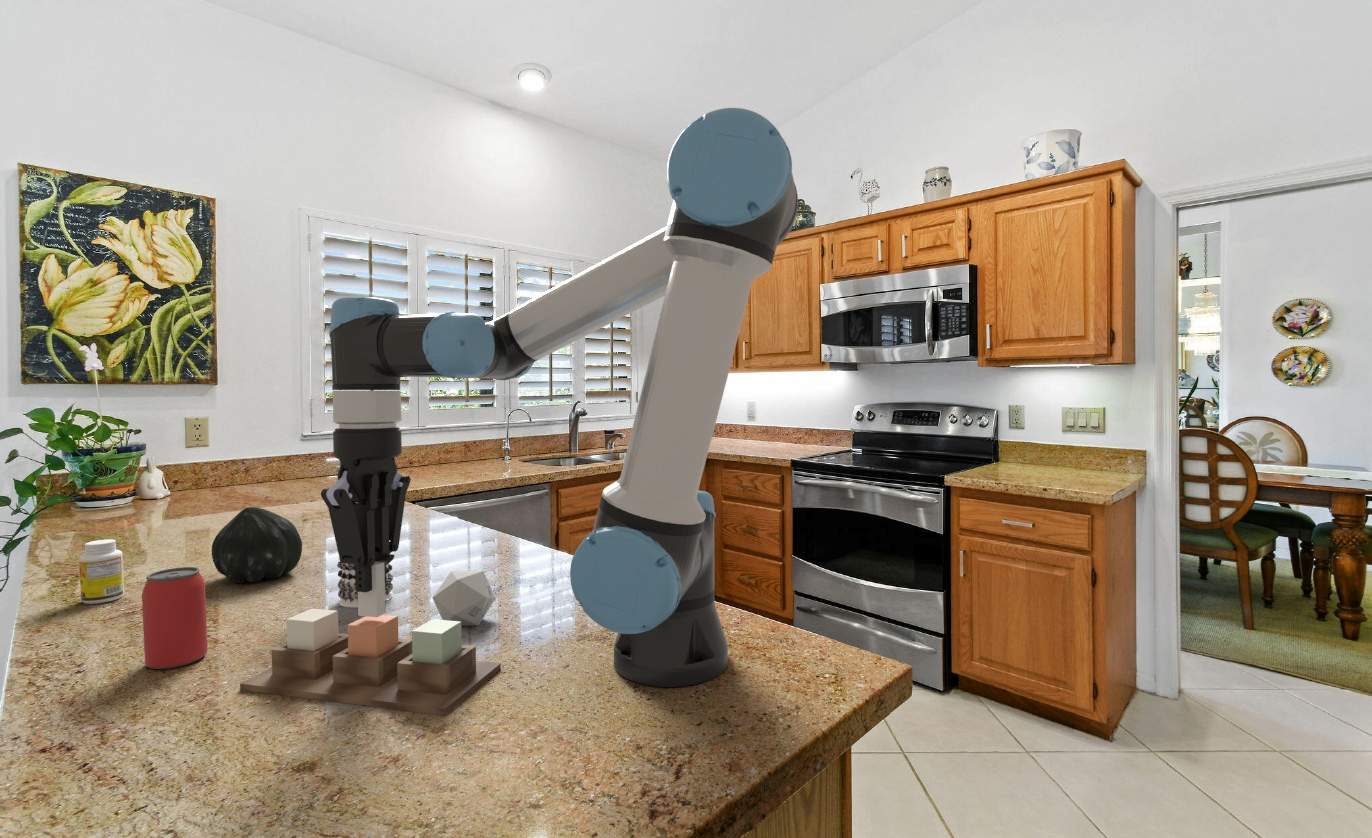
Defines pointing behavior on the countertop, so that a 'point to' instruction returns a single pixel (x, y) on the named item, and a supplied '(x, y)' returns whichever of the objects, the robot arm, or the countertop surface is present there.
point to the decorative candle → (348, 583)
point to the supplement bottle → (101, 572)
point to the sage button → (436, 641)
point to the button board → (373, 677)
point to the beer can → (174, 618)
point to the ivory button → (312, 629)
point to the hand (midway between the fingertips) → (371, 614)
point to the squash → (256, 546)
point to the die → (464, 597)
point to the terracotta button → (373, 635)
